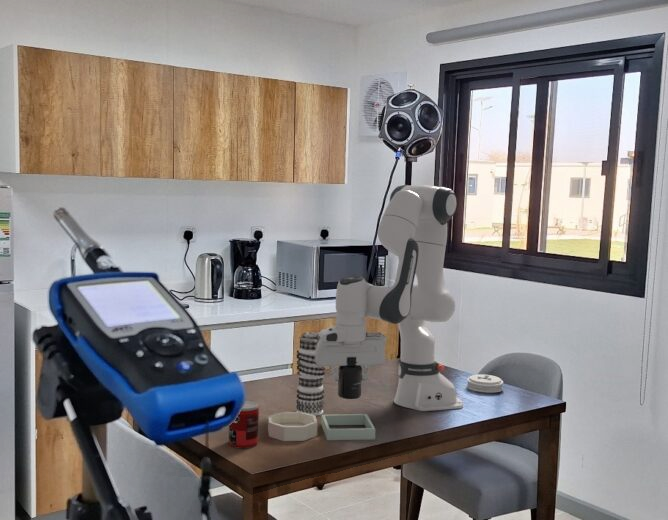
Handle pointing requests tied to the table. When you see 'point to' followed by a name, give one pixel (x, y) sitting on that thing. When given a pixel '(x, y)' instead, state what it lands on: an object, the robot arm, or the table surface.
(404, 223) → the robot arm
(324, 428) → the tray
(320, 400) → the decorative candle
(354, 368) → the supplement bottle
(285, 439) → the bowl
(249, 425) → the canned food
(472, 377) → the lid
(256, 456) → the table surface
